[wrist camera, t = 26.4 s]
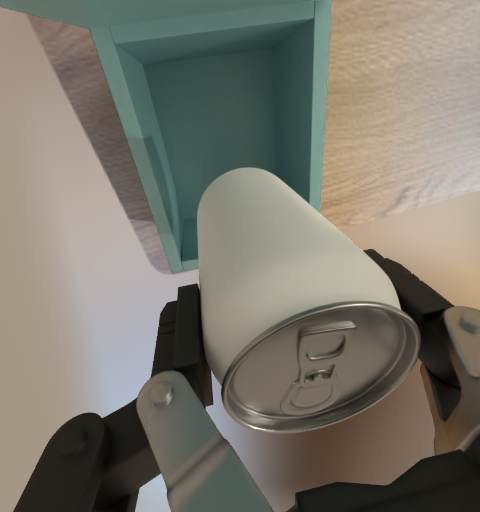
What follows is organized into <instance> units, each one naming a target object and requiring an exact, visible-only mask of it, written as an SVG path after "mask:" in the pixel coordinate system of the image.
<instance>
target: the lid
mask: <svg viewBox="0 0 480 512" xmlns="http://www.w3.org/2000/svg"><path fill="white" fill-rule="evenodd" d="M308 1H316V0H0V7H2V8H6V9H10V10H14V11H18V12H22V13H26V14H30V15H34V16H38V17H42V18H47V19H51V20H55V21H59V22H63V23H67V24H71V25H75V26H79V27H83V28H87V29H91V28H99V27H107V26H115V25H123V24H131V23H139V22H147V21H155V20H163V19H171V18H180V17H188V16H196V15H204V14H212V13H220V12H228V11H236V10H244V9H252V8H260V7H268V6H276V5H284V4H292V3H300V2H308Z"/></svg>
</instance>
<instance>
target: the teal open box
mask: <svg viewBox="0 0 480 512" xmlns="http://www.w3.org/2000/svg"><path fill="white" fill-rule="evenodd" d="M331 7H332V0H316V1H308V2H300V3H292V4H284V5H276V6H268V7H260V8H252V9H244V10H236V11H228V12H220V13H212V14H204V15H196V16H188V17H180V18H171V19H163V20H155V21H147V22H139V23H131V24H123V25H115V26H107V27H99V28H91V29H90V32H91V35H92V38H93V41H94V44H95V47H96V50H97V53H98V56H99V59H100V62H101V65H102V68H103V71H104V74H105V77H106V80H107V82H108V85H109V88H110V91H111V94H112V97H113V100H114V103H115V106H116V109H117V112H118V115H119V118H120V121H121V124H122V127H123V130H124V133H125V136H126V139H127V141H128V144H129V147H130V150H131V153H132V156H133V159H134V162H135V165H136V168H137V171H138V174H139V177H140V180H141V183H142V186H143V189H144V192H145V195H146V198H147V200H148V203H149V206H150V209H151V212H152V215H153V218H154V221H155V224H156V227H157V230H158V233H159V236H160V239H161V242H162V245H163V248H164V251H165V254H166V257H167V259H168V262H169V265H170V268H171V271H172V273H178V272H183V271H188V270H193V269H198V268H199V260H198V234H197V212H198V207H199V203H200V200H201V198H202V196H203V194H204V192H205V191H206V189H207V188H208V187H209V185H210V184H211V183H212V182H213V181H214V180H216V179H217V178H218V177H220V176H221V175H223V174H225V173H227V172H229V171H231V170H234V169H238V168H247V167H251V168H259V169H263V170H266V171H268V172H270V173H272V174H274V175H275V176H277V177H278V178H279V179H281V180H282V181H283V182H284V183H285V184H287V185H288V186H289V187H290V188H291V189H292V190H294V191H295V192H296V193H297V194H298V195H299V196H301V197H302V198H303V199H304V200H305V201H306V202H308V203H309V204H310V205H311V206H312V207H313V208H314V209H316V210H317V211H318V212H319V213H320V212H321V194H322V175H323V156H324V137H325V119H326V100H327V81H328V63H329V44H330V25H331Z"/></svg>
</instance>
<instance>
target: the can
mask: <svg viewBox="0 0 480 512" xmlns="http://www.w3.org/2000/svg"><path fill="white" fill-rule="evenodd" d="M197 234H198V260H199V280H200V281H199V282H200V303H201V322H202V336H203V346H204V351H205V356H206V360H207V362H208V364H209V367H210V369H211V370H212V372H213V374H214V375H215V377H216V378H217V380H218V381H219V383H220V384H221V386H222V389H221V396H222V402H223V405H224V408H225V410H226V412H227V413H228V414H229V416H230V417H231V418H232V419H233V420H235V421H236V422H237V423H239V424H241V425H242V426H245V427H247V428H249V429H252V430H256V431H261V432H267V433H295V432H302V431H308V430H313V429H318V428H321V427H325V426H329V425H331V424H334V423H337V422H340V421H343V420H345V419H348V418H350V417H352V416H354V415H356V414H358V413H360V412H362V411H364V410H366V409H368V408H369V407H371V406H373V405H374V404H376V403H377V402H379V401H380V400H381V399H383V398H385V397H386V396H387V395H388V394H390V393H391V392H392V391H393V390H394V389H395V388H396V387H397V386H399V385H400V384H401V383H402V381H403V380H404V379H405V378H406V377H407V376H408V374H409V373H410V372H411V370H412V369H413V367H414V365H415V363H416V361H417V359H418V357H419V354H420V350H421V334H420V330H419V328H418V326H417V324H416V323H415V321H414V320H413V319H412V318H411V317H410V316H409V315H408V314H406V313H405V312H404V311H402V310H401V307H400V304H399V300H398V297H397V294H396V291H395V288H394V286H393V284H392V282H391V280H390V279H389V277H388V276H387V275H386V273H385V272H384V271H383V270H382V269H381V268H380V267H379V266H378V265H377V264H376V263H375V262H374V261H373V260H372V259H371V258H370V257H369V256H368V255H367V254H366V253H365V252H363V251H362V250H361V249H360V248H359V247H358V246H357V245H355V244H354V243H353V242H352V241H351V240H350V239H349V238H348V237H347V236H345V235H344V234H343V233H342V232H341V231H340V230H339V229H337V228H336V227H335V226H334V225H333V224H332V223H331V222H329V221H328V220H327V219H326V218H325V217H324V216H323V215H321V214H320V213H319V212H318V211H317V210H316V209H314V208H313V207H312V206H311V205H310V204H309V203H308V202H306V201H305V200H304V199H303V198H302V197H301V196H299V195H298V194H297V193H296V192H295V191H294V190H292V189H291V188H290V187H289V186H288V185H287V184H285V183H284V182H283V181H282V180H281V179H279V178H278V177H277V176H275V175H274V174H272V173H270V172H268V171H266V170H263V169H259V168H251V167H247V168H238V169H234V170H231V171H229V172H227V173H225V174H223V175H221V176H220V177H218V178H217V179H216V180H214V181H213V182H212V183H211V184H210V185H209V187H208V188H207V189H206V191H205V192H204V194H203V196H202V198H201V200H200V203H199V207H198V212H197Z"/></svg>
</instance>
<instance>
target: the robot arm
mask: <svg viewBox="0 0 480 512" xmlns="http://www.w3.org/2000/svg"><path fill="white" fill-rule="evenodd" d="M363 252H365V253H366V254H367V255H368V256H369V257H370V258H371V259H372V260H373V261H374V262H375V263H376V264H377V265H378V266H379V267H380V268H381V269H382V270H383V271H384V272H385V273H386V275H387V276H388V277H389V279H390V280H391V282H392V284H393V286H394V288H395V291H396V294H397V297H398V300H399V304H400V307H401V310H402V311H404V312H405V313H406V314H408V315H409V316H410V317H411V318H412V319H413V320H414V321H415V323H416V324H417V326H418V328H419V330H420V334H421V350H420V354H419V357H418V358H419V359H420V360H421V362H422V364H421V367H420V371H421V375H422V379H423V383H424V387H425V390H426V394H427V398H428V402H429V406H430V409H431V413H432V417H433V421H434V425H435V438H434V452H435V456H432V457H428V458H424V459H421V460H420V461H419V462H417V463H416V464H415V465H414V466H412V467H411V468H410V469H409V470H407V471H406V472H405V473H404V474H402V475H401V476H400V477H399V478H397V479H396V480H395V481H393V482H392V483H391V484H389V485H384V486H382V485H370V484H358V483H345V482H335V483H331V484H327V485H324V486H320V487H316V488H312V489H309V490H305V491H301V492H297V493H295V505H294V506H293V507H292V508H290V509H289V510H288V511H287V512H480V310H477V309H474V308H470V307H464V306H454V305H452V304H451V303H450V302H449V301H447V300H446V299H444V298H443V297H442V296H441V295H439V294H438V293H437V292H436V291H434V290H433V289H432V288H431V287H429V286H428V285H427V284H425V283H424V282H423V281H420V280H419V278H418V277H416V276H415V275H414V274H411V272H410V271H409V270H407V269H406V268H405V267H403V266H402V265H401V264H399V263H397V262H395V261H392V260H390V259H388V258H383V257H382V256H381V255H380V254H378V253H377V252H376V251H375V250H373V249H368V250H363ZM210 405H213V393H212V379H211V369H210V367H209V364H208V362H207V360H206V356H205V351H204V346H203V336H202V322H201V303H200V290H199V287H198V284H192V285H187V286H182V287H179V288H178V299H177V301H172V302H168V303H167V304H166V305H165V307H164V309H163V310H162V312H161V314H160V320H159V327H158V336H157V341H156V348H155V354H154V361H153V368H152V374H151V378H150V379H149V380H148V381H147V382H146V383H145V385H144V386H143V387H142V389H141V391H140V392H139V395H138V397H137V398H136V399H135V400H133V401H132V402H130V403H129V404H127V405H126V406H124V407H122V408H120V409H118V410H117V411H115V412H113V413H111V414H109V415H108V416H106V417H104V418H101V417H100V416H99V415H98V414H95V413H83V414H80V415H78V416H76V417H74V418H72V419H71V420H69V421H67V422H66V423H65V424H64V425H62V426H61V427H60V428H59V430H57V431H56V433H55V434H54V435H53V436H52V438H51V439H50V441H49V442H48V444H47V446H46V447H45V449H44V451H43V454H42V455H41V457H40V459H39V462H38V463H37V465H36V468H35V470H34V472H33V473H32V475H31V477H30V479H29V481H28V483H27V485H26V488H25V489H24V491H23V493H22V495H21V497H20V499H19V501H18V503H17V505H16V507H15V509H14V511H13V512H135V508H136V503H137V498H138V493H139V488H140V487H142V486H143V485H144V484H146V483H147V482H149V481H150V480H152V479H153V478H155V477H156V476H158V475H159V474H162V476H163V479H164V482H165V484H166V487H167V499H168V502H169V506H170V509H171V512H274V511H273V509H272V508H271V506H270V505H269V503H268V501H267V500H266V498H265V497H264V495H263V494H262V492H261V491H260V489H259V488H258V486H257V484H256V483H255V481H254V480H253V478H252V477H251V475H250V473H249V472H248V471H247V469H246V468H245V466H244V464H243V463H242V461H241V460H240V458H239V456H238V455H237V453H236V452H235V450H234V449H233V447H232V446H231V445H230V443H229V442H228V441H227V440H226V439H224V438H223V436H222V435H221V433H220V432H219V430H218V429H217V427H216V426H215V424H214V422H213V421H212V419H211V418H210V416H209V415H208V413H207V411H206V408H205V407H206V406H210Z"/></svg>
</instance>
